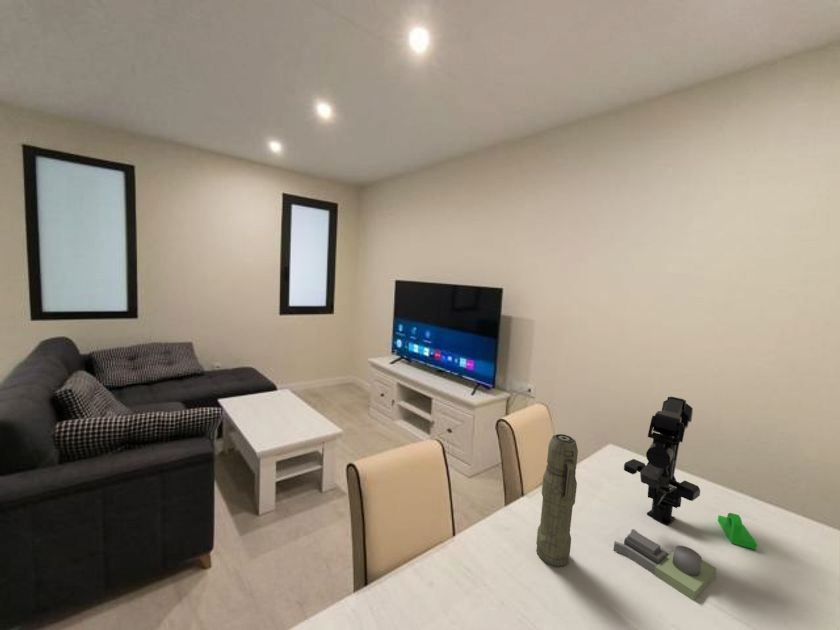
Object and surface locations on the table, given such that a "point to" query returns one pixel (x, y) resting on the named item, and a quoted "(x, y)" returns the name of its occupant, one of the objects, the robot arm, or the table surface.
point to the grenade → (557, 501)
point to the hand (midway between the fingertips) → (656, 504)
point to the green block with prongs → (675, 568)
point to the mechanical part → (736, 531)
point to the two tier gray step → (645, 547)
